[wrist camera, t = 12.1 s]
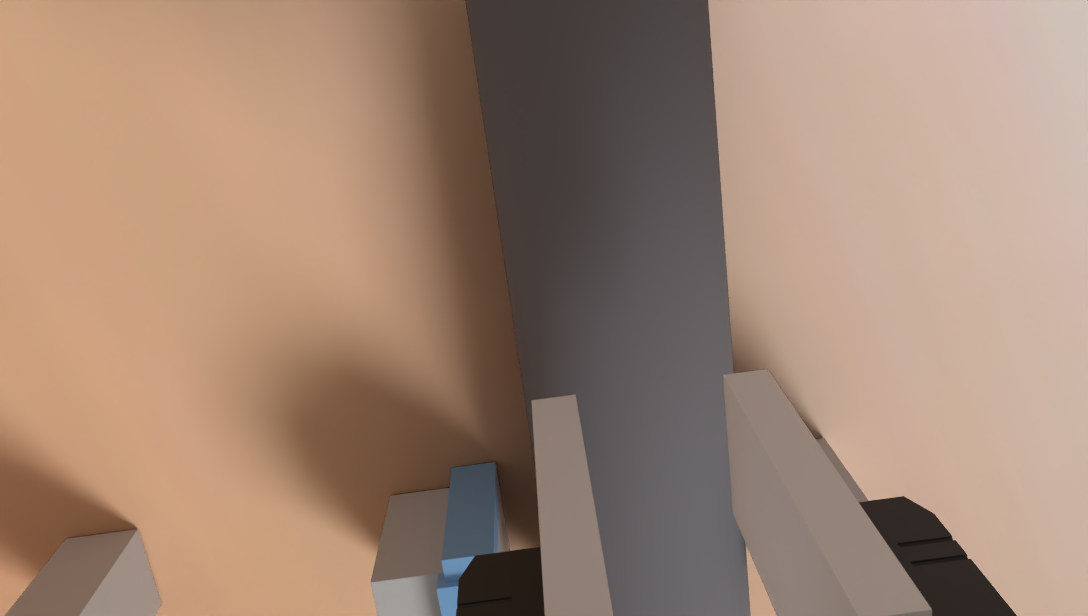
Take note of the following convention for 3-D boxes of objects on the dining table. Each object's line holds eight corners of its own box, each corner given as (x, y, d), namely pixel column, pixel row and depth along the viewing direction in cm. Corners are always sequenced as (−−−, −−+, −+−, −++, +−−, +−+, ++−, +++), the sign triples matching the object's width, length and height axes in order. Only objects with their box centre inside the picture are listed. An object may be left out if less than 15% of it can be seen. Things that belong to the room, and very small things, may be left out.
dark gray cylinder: (533, 601, 26) (606, 718, 22) (432, -41, 21) (502, -61, 16) (692, 547, 28) (789, 647, 23) (636, -66, 22) (750, -91, 18)
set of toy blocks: (91, 614, 27) (11, 735, 22) (59, 519, 26) (-31, 627, 21) (826, 516, 27) (889, 620, 22) (823, 418, 26) (888, 506, 21)
